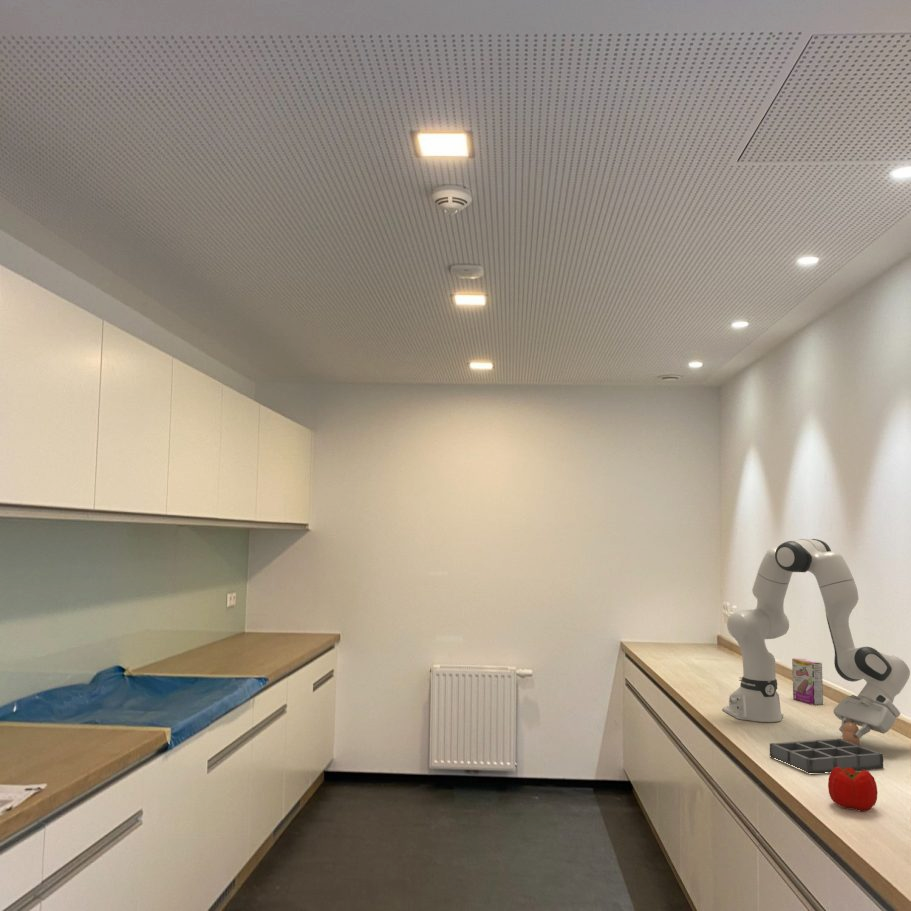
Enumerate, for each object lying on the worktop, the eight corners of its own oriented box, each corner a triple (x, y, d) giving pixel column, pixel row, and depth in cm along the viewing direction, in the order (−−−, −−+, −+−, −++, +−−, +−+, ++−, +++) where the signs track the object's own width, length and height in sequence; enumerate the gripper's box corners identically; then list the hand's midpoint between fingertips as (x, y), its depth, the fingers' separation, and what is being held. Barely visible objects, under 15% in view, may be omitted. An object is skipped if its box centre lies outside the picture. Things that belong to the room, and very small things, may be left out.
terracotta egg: (839, 746, 250) (838, 720, 250) (851, 745, 251) (851, 720, 252) (850, 751, 245) (849, 724, 246) (863, 750, 246) (862, 723, 247)
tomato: (882, 806, 197) (881, 768, 197) (869, 819, 188) (868, 779, 188) (837, 796, 204) (836, 759, 204) (822, 807, 195) (821, 770, 196)
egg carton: (769, 757, 238) (769, 743, 238) (839, 751, 244) (839, 738, 244) (809, 774, 221) (809, 759, 221) (883, 768, 228) (882, 754, 228)
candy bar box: (792, 699, 319) (791, 658, 320) (801, 698, 320) (800, 657, 322) (814, 705, 308) (813, 662, 310) (823, 704, 310) (822, 662, 312)
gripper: (843, 687, 261) (819, 719, 258) (892, 700, 242) (867, 735, 238) (855, 700, 262) (831, 732, 259) (905, 715, 242) (880, 749, 239)
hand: (849, 734), depth 248 cm, fingers closed on terracotta egg, 5 cm apart
